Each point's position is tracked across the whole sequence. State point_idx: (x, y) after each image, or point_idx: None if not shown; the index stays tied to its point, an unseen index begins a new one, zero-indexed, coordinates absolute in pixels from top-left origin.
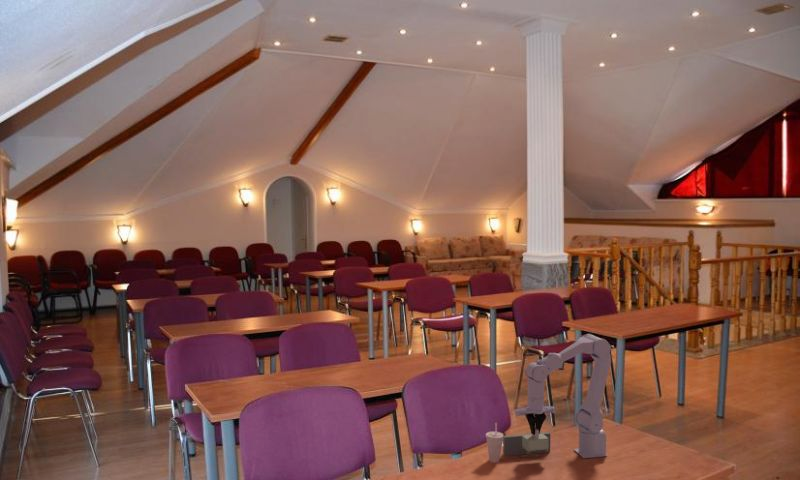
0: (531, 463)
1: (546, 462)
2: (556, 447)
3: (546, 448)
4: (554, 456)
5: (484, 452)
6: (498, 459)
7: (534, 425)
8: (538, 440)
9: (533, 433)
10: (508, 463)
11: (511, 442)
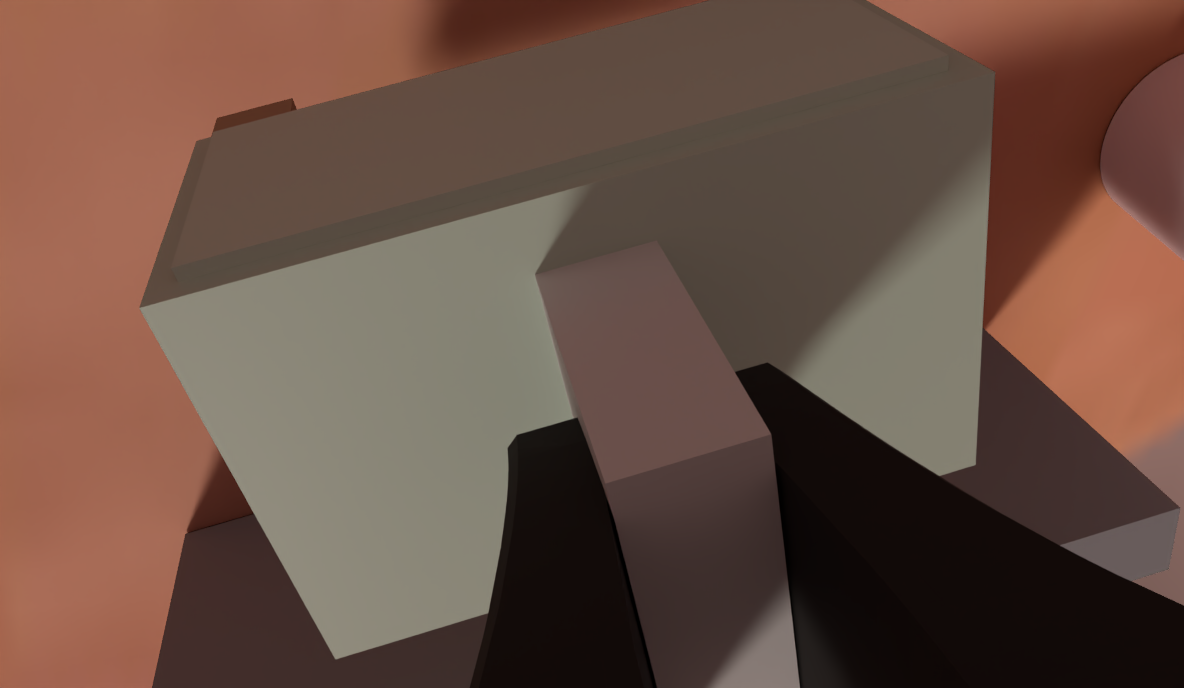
0: (596, 24)
1: (279, 82)
2: (73, 681)
3: (260, 120)
4: (103, 365)
5: (1176, 399)
6: (1180, 83)
7: (978, 614)
8: (560, 155)
9: (788, 377)
10: (1011, 14)
11: (965, 475)
